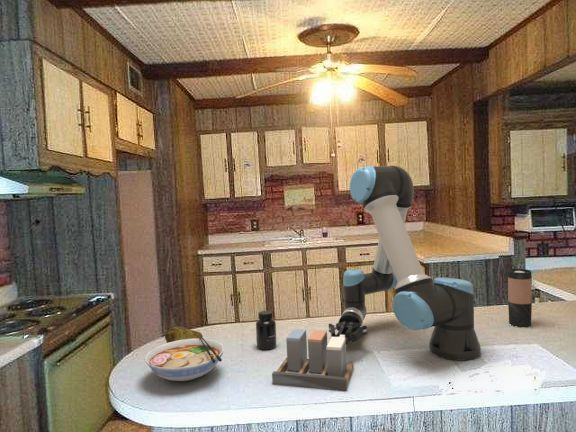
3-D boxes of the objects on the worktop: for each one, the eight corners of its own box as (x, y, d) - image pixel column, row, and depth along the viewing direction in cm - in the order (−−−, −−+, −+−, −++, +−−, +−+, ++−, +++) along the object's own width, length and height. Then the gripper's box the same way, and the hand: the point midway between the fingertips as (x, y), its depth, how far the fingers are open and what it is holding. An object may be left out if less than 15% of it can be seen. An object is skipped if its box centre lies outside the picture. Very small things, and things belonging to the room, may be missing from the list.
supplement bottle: (274, 351, 144) (272, 315, 143) (254, 350, 145) (252, 315, 144) (278, 343, 150) (277, 309, 149) (259, 342, 152) (258, 309, 151)
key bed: (287, 363, 133) (286, 354, 133) (353, 368, 127) (353, 358, 127) (272, 384, 119) (271, 373, 119) (346, 390, 113) (345, 379, 113)
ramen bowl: (143, 368, 134) (141, 342, 134) (215, 354, 143) (214, 330, 142) (149, 404, 111) (147, 373, 111) (235, 385, 120) (233, 356, 119)
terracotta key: (315, 361, 133) (314, 330, 133) (328, 362, 132) (326, 330, 131) (309, 372, 126) (307, 339, 125) (322, 373, 124) (321, 339, 124)
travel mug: (536, 327, 154) (535, 272, 153) (514, 328, 154) (514, 273, 153) (524, 320, 162) (524, 268, 161) (504, 321, 162) (503, 269, 161)
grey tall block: (333, 369, 127) (331, 336, 126) (346, 370, 126) (345, 337, 125) (327, 381, 119) (326, 346, 118) (342, 382, 118) (340, 347, 117)
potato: (205, 349, 148) (203, 326, 147) (166, 355, 144) (164, 332, 143) (202, 341, 156) (201, 320, 155) (165, 347, 152) (164, 324, 151)
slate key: (295, 359, 135) (293, 328, 134) (307, 360, 134) (306, 329, 133) (287, 370, 127) (286, 337, 127) (300, 371, 126) (299, 338, 126)
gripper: (370, 333, 147) (361, 360, 124) (332, 331, 151) (317, 357, 128) (369, 311, 146) (361, 335, 124) (331, 310, 150) (316, 333, 128)
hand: (339, 346), depth 126 cm, fingers closed
